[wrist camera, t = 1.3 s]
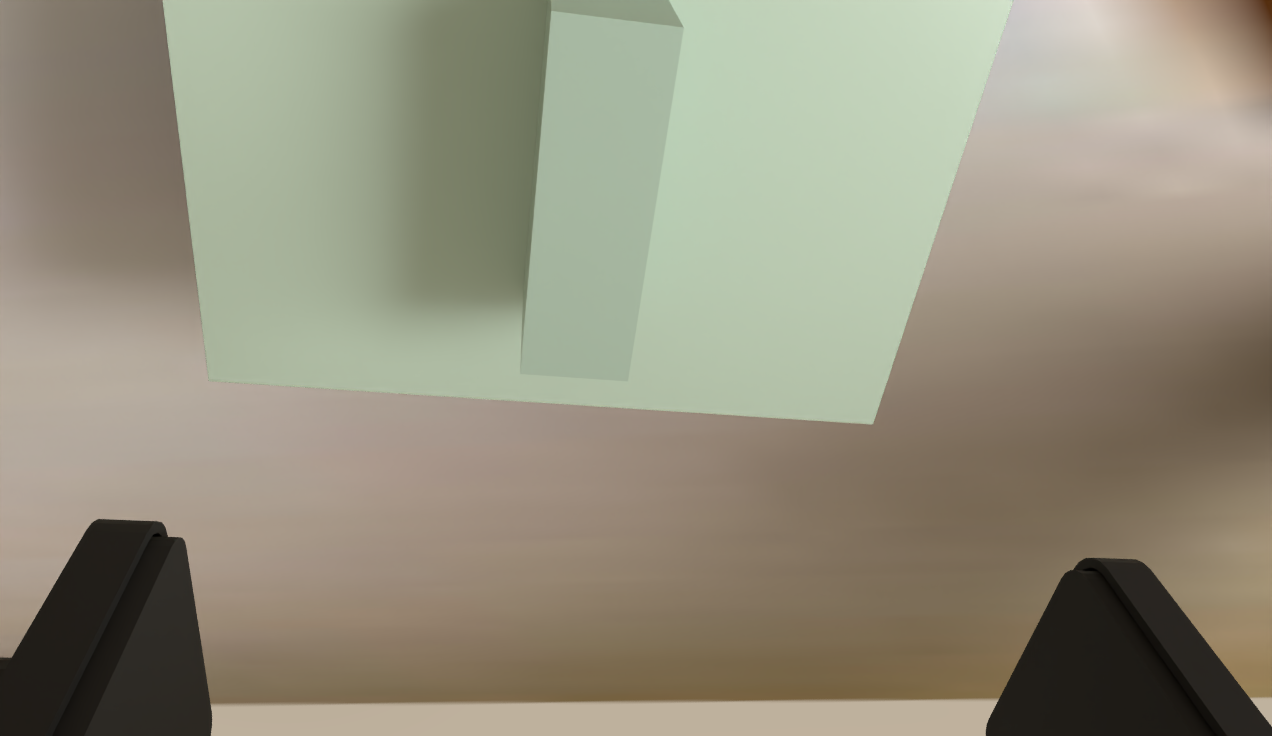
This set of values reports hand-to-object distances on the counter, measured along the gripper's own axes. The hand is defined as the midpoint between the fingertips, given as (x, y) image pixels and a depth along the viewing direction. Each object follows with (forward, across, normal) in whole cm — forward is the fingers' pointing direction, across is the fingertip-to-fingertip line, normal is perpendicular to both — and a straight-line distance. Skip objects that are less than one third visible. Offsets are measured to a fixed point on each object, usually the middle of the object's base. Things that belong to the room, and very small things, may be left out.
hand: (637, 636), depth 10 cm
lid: (+17, 0, 0) cm, 17 cm away
